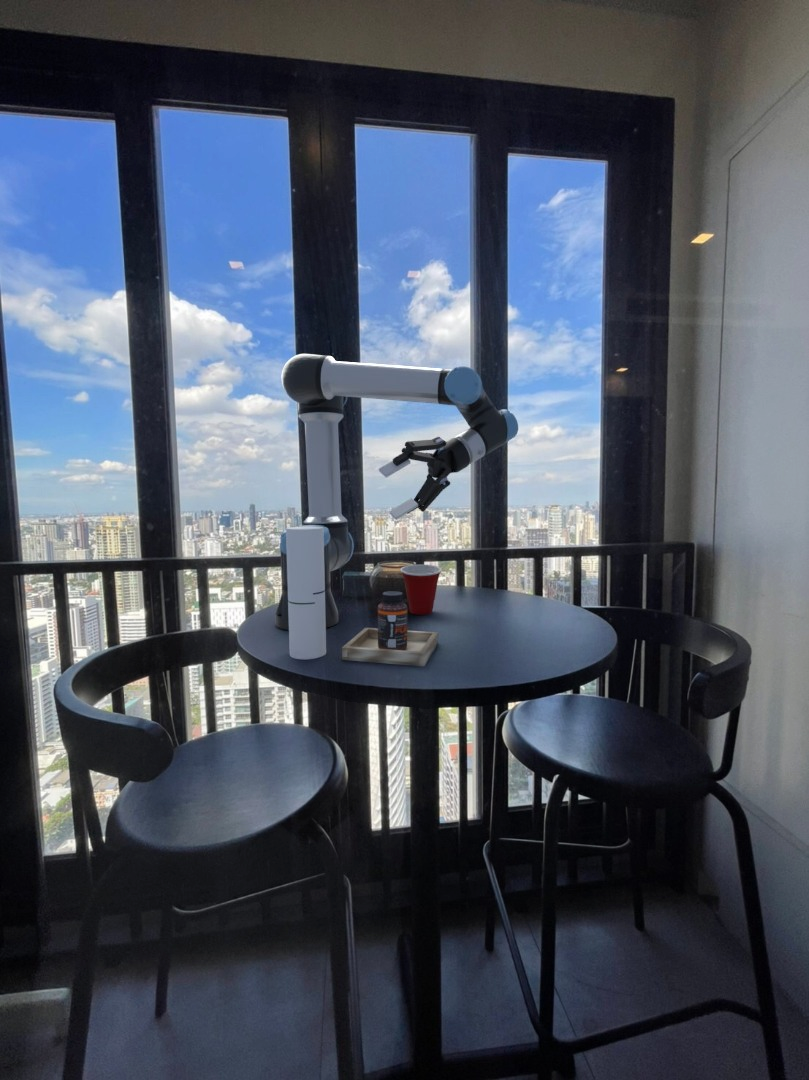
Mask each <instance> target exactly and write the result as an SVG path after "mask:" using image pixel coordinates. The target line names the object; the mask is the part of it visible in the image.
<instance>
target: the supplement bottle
mask: <svg viewBox="0 0 809 1080" xmlns="http://www.w3.org/2000/svg"><path fill="white" fill-rule="evenodd" d="M403 595H404V594H403V592H401V591H397V590H396V591H394V590H393V591H391V590H390V591H384V592H382V601H381V602H380V603H379V604H378V606H377V628H378V648H379V649H391V650H404V649H406V648H407V630H408V605H407V604H406V603H405V602H404V600H403V599H404V597H403Z"/></svg>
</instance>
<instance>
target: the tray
mask: <svg viewBox="0 0 809 1080" xmlns="http://www.w3.org/2000/svg"><path fill="white" fill-rule="evenodd" d="M438 644H439V632H437V631H436V632H435V631H422V630H421V631H420V630H408V629H407V648H406V649H404V650H391V649H379V648H378V627H377V628H376V627H364V628H363V629H362V630H361V631H359V633H357V634H356V635H355V636H354V637H353V638H351V639H350V640H348V642H346V643H345V644H344V645H343V646H342V647H341V658H342V659H341V660H342V661H353V662H355V661H356V662H365V663H366V662H367V663H377V664H378V663H379V664H386V665H387V664H389V665H404V666H413V667H425V666H426V664H427V663H428V661H429V659H430V658H431V656H432V654H433V653H434V651H435V650H436V647H437V646H438Z"/></svg>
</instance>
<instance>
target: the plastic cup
mask: <svg viewBox="0 0 809 1080" xmlns="http://www.w3.org/2000/svg"><path fill="white" fill-rule="evenodd" d="M400 572H401V573H402V577H403V581H404V585H405V592H406V596H407V601H408V609H409V612H410V614H412V615H416V616H417V615H418V616H426V615H431V614H432V613H433V610H434V604H435V599H436V593H437V589H438V582H439V578H440V574H441V572H442V567H440V566H437V565H432V564H411V565H405V566H403V567H401V568H400Z"/></svg>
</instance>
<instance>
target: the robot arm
mask: <svg viewBox="0 0 809 1080" xmlns="http://www.w3.org/2000/svg"><path fill="white" fill-rule="evenodd" d="M281 385H282V387H283V390H284V391H285V393H286V395H288V397H289V398H290V399H292V400H293V401H294V402H297V411H298V418H299V419H300V420H301V422H303V424H304V435H305V437H304V438H305V453H306V455H305V457H306V476H307V479H306V480H307V495H308V497H307V498H308V516H307V517H306V518H305V520H303V524H302V525H299V526H297V527H324V573H325V619H326V629H327V628H331V627H334V626H335V625H337V624H338V623H339V611H338V608H337V605H336V602H335V599H334V596H333V593H332V589H331V585H332V584H331V572H333V571H336V570H339V569H341V568H343V566H345V565H346V564H347V563H348V562H349V561H350V559H351V558H352V556H353V554H354V548H355V546H354V545H355V543H354V539H353V536H352V535H351V533H350V532H349V528H348V527H349V525H348V523H349V522H348V519H347V518H346V517H345V516H344V515H343V514H342V496H341V495H342V491H341V471H340V470H341V468H340V467H341V466H340V464H341V463H340V444H339V443H340V442H339V438H340V437H339V423H340V422H341V421H342V419H343V418H344V406H345V405H346V403H347V400H348V398H359V399H360V398H363V399H374V400H383V401H385V400H387V401H397V402H399V401H400V402H401V401H402V402H412V403H425V404H436V405H443V406H455V407H456V409H457V411H459V414H461V416H462V417H463V419H464V420H465V421H466V423H467V425H468V426H469V428H467V429H466V430H464V431H463V432H461V433H459V434H457V435H455V436H454V437H452V438H451V439H449V440H447V441H446V440H444V439H443V438H442V437H441V436H436V437H435V438H432V439H421V440H411V441H410V440H408V441H406V442H405V443H404V447H403V448H401V452H402V453H400V454H398V455H397V456H395V457H393V458H392V461H390V462H388V463H386V464H384V465H383V466H381V467H379V468H378V471H379V473H380V474H381V475H382V476H384V478H388V477H390V476H392V475H393V474H395V473H397V472H398V471H400V470H401V469H404V468H405V467H407V466H408V465H411V460H412V461H418V462H423V463H426V466H427V467H428V468H427V475H426V480H425V481H424V483H423V484H422V486H421V487H420V489H419V491H418V492H417V493H416V495H415V496H414V498H412V497H411V498H409V499H407V500H406V501H404V502H403V503H401V504H399V505H398V506H396V507H394V508H392V509H391V510H389V511H388V512H389V514H390V515H391V517H392V518H394V520H396V521H397V520H398V519H400V518H402V517H404V516H405V515H406V514H407V515H408V514H410V513H411V512H413V511H415V510H416V509H419V511H420V512H425V511H426V510H427V509H428V508H429V506H431V504H433V502H434V501H435V500H436V498H438V497H439V495H440V494H441V493H442V492H443V491H444V490H445V489H447V487H449V486H450V485H451V482H450V481H449V479H448V476H449V475H450V474H453V473H458V472H459V473H460V472H461V471H462V470H464V469H466V468H467V467H469V466H470V465H472V464H473V463H476V462H477V461H478V460H480V459H482V458H483V457H486V456H487V455H488V454H490V453H491V452H493V451H495V450H497V449H499V448H500V447H502V446H504V445H506V443H508V442H509V441H511V440H512V439H514V438H515V437H516V436H517V434H518V432H519V423H518V419H517V418H516V416H515V414H514V413H512V412H510V410H509V409H504V408H503V409H500V410H498V409H497V408H496V406H495V405H494V404H493V402H492V401H491V399H490V398H489V396H488V395H487V393H486V391H485V389H484V386H483V381H482V379H481V377H480V375H479V373H478V372H476V371H475V370H474V369H473V367H470V366H467V365H459V366H457V367H454V368H453V369H452V368H451V369H450V368H438V367H437V368H435V367H423V366H422V367H421V366H408V365H394V364H379V363H366V362H353V361H352V362H350V361H337V360H335V358H334V357H333V356H331V355H321V354H313V353H299V354H296V355H294V356H293V357H291V358H289V360H287V362H286V363H285V364H284V366H283V368H282V371H281ZM422 451H423V452H422ZM424 451H434V452H433V453H432V452H431V453H430V452H424ZM279 549H280V552H279V553H280V571H281V572H280V573H281V575H280V576H281V594H280V595H281V596H280V599H279V602H278V605H277V608H276V611H275V616H274V617H275V618H274V619H275V624H274V625H275V626H276V627H277V628H279V629H281V630H287V631H289V615H288V582H287V548H286V529H284V530H283V531H282V532H281V534H280V543H279Z"/></svg>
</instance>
